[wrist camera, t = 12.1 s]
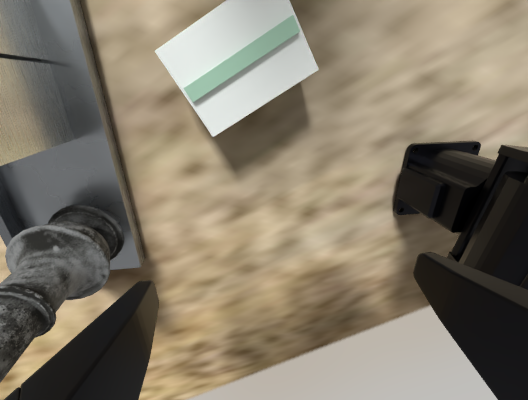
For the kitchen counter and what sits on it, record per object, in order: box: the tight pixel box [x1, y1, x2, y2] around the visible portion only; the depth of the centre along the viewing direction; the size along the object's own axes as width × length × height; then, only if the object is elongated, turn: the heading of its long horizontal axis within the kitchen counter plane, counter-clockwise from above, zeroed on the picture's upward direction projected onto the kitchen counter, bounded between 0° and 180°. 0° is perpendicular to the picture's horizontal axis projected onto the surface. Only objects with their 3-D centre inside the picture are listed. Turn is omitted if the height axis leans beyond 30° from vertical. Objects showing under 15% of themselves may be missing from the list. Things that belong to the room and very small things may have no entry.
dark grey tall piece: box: [0, 205, 124, 382], centre depth 14 cm, size 6×6×12 cm
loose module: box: [155, 0, 319, 137], centre depth 15 cm, size 7×5×5 cm
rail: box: [0, 0, 145, 270], centre depth 14 cm, size 8×20×8 cm, turn 1°
